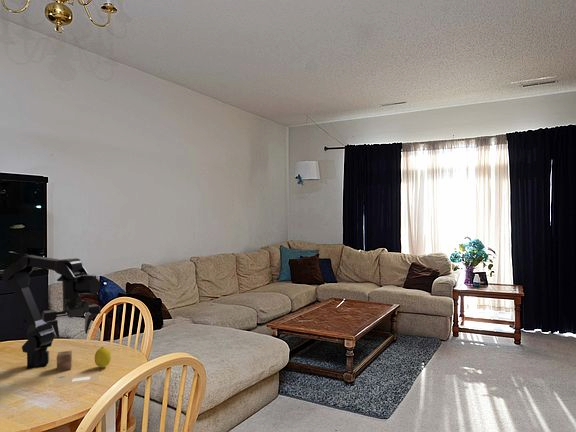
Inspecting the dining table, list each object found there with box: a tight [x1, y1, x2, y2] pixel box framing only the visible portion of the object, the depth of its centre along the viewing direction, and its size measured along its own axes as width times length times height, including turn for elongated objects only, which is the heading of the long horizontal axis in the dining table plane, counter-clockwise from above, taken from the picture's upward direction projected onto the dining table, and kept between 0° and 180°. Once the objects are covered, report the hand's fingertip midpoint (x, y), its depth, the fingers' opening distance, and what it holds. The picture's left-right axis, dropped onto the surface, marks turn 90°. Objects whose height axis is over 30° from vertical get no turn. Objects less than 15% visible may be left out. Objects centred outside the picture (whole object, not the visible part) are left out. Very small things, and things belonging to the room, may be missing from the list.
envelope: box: [51, 370, 100, 388], centre depth 148 cm, size 14×10×1 cm
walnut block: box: [56, 350, 73, 373], centre depth 158 cm, size 4×4×6 cm
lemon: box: [94, 346, 112, 369], centre depth 159 cm, size 6×6×8 cm
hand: (72, 335), depth 158 cm, fingers open, 9 cm apart
